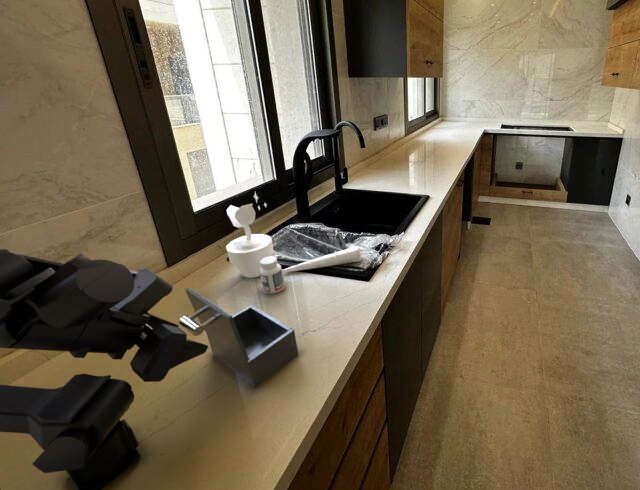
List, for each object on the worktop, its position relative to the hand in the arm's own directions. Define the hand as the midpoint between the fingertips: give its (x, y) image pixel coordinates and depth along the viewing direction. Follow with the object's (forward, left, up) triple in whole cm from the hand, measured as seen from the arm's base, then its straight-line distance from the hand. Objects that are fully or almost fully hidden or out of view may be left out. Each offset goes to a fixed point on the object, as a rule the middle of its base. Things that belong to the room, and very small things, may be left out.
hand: (191, 338), depth 54 cm
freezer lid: (+5, +2, -1) cm, 5 cm away
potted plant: (+28, +31, -13) cm, 44 cm away
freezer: (+10, +2, -13) cm, 17 cm away
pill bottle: (+26, +19, -13) cm, 35 cm away
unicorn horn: (+41, +16, -13) cm, 46 cm away
